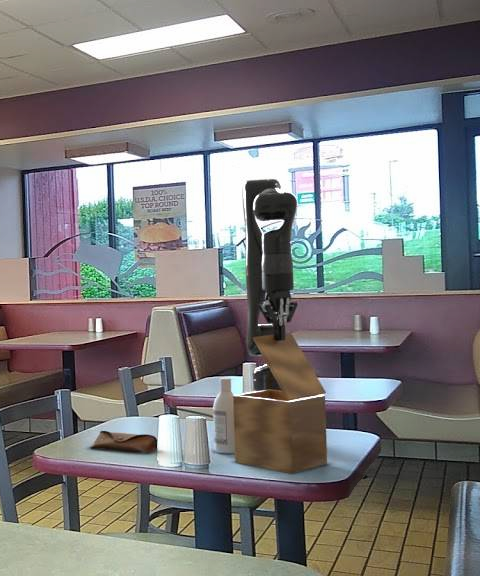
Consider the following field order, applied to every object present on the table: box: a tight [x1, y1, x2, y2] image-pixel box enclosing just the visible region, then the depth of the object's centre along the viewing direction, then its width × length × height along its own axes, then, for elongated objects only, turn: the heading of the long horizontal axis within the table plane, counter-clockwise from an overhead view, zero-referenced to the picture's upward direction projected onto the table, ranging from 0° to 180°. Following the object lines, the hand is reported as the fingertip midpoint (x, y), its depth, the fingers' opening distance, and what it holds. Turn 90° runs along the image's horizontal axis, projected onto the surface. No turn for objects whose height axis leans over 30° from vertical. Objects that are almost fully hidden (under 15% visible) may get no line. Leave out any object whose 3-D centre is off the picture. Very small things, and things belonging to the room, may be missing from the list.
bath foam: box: [212, 377, 235, 455], centre depth 224 cm, size 7×7×20 cm
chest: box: [233, 389, 328, 474], centre depth 209 cm, size 17×15×17 cm
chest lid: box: [253, 332, 327, 401], centre depth 206 cm, size 18×15×1 cm
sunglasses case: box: [89, 430, 158, 453], centre depth 233 cm, size 18×7×7 cm
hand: (279, 340), depth 208 cm, fingers closed
